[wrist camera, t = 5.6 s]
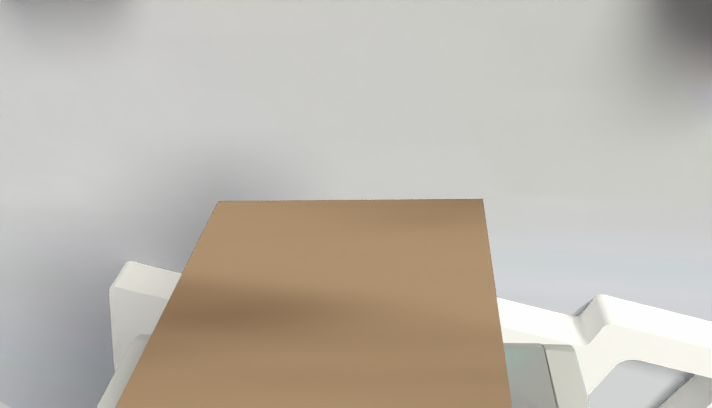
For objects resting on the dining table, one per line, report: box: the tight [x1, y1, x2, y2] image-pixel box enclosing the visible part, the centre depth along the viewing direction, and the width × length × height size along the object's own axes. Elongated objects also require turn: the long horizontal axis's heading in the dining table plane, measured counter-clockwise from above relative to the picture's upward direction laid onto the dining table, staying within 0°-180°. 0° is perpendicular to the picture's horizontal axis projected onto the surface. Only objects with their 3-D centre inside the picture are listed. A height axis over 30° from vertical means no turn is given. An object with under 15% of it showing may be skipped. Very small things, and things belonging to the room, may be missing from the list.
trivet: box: [109, 261, 712, 408], centre depth 34 cm, size 45×18×3 cm, turn 76°
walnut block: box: [115, 199, 512, 408], centre depth 10 cm, size 5×5×5 cm
